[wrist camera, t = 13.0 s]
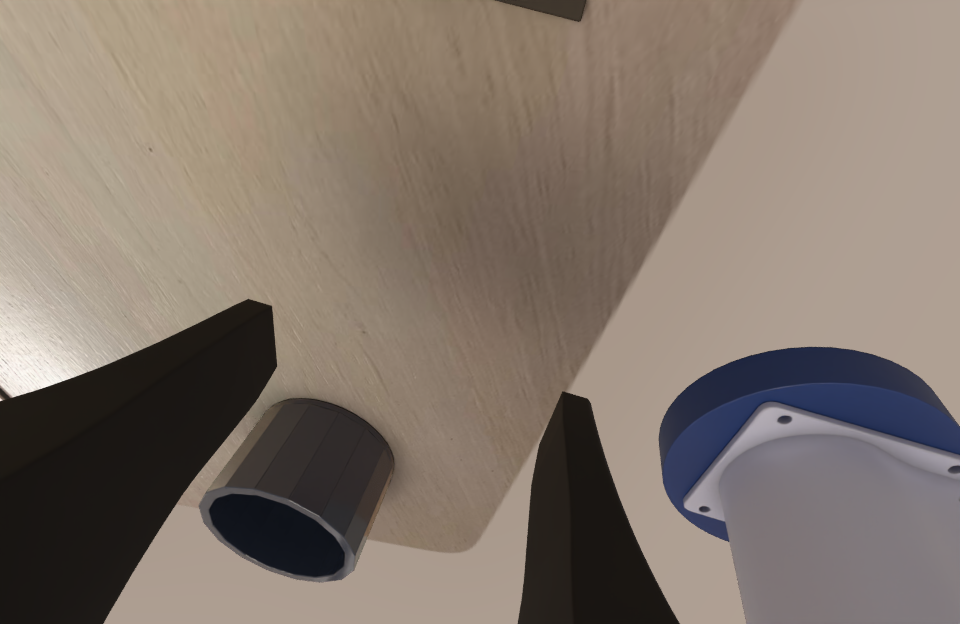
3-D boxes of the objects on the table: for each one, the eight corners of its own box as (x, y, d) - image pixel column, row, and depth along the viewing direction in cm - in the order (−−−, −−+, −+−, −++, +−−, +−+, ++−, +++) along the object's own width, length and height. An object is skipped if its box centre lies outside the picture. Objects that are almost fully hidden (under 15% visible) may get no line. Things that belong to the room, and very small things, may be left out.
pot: (400, 424, 30) (357, 521, 25) (388, 505, 35) (351, 597, 30) (257, 381, 30) (186, 467, 25) (268, 467, 36) (211, 553, 31)
